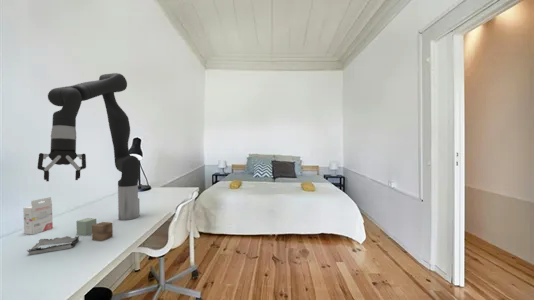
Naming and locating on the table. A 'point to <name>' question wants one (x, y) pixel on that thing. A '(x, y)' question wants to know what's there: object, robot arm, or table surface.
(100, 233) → the walnut block
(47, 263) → the table surface
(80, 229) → the sage block
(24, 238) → the table surface
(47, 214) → the ink cartridge box
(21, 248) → the table surface
